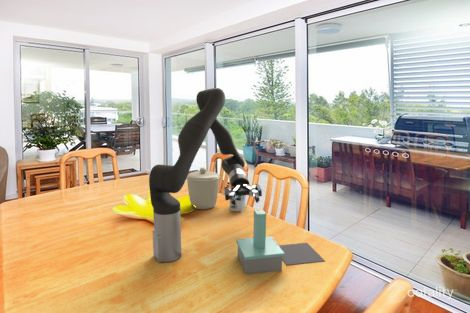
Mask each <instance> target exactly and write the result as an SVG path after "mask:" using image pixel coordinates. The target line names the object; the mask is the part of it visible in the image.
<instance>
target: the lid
mask: <svg viewBox="0 0 470 313" xmlns="http://www.w3.org/2000/svg"><path fill="white" fill-rule="evenodd" d="M266 231H267V213H266V212H265V211H264V210H263V209H254V210H253V237H246V238H237V239H236V240H235V242H236V244H237V248H238V247H239V249H240V251H241V253H242V255H243V257H244V259H245V260H251V259H261V258H271V257H280V256H284V252H283V251H282V249H281V248H280V247H279V245H280V244H278V243H277V241H276V240H275V239H274V237H273V236H272V235H268V236H266V235H267V232H266Z"/></svg>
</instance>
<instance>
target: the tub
mask: <svg viewBox="0 0 470 313" xmlns="http://www.w3.org/2000/svg"><path fill="white" fill-rule="evenodd" d="M237 257H238V259H239V261H240V264H241V266H242V268H243V271H244V273H245V275H253V274H262V273H263V274H264V273H271V272H280V271H281V272H282V271H283V260H282V256H280V257H271V258H261V259H251V260H245V259H244V257H243V255H242V253H241V251H240V249H239V247H238V246H237Z"/></svg>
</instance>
